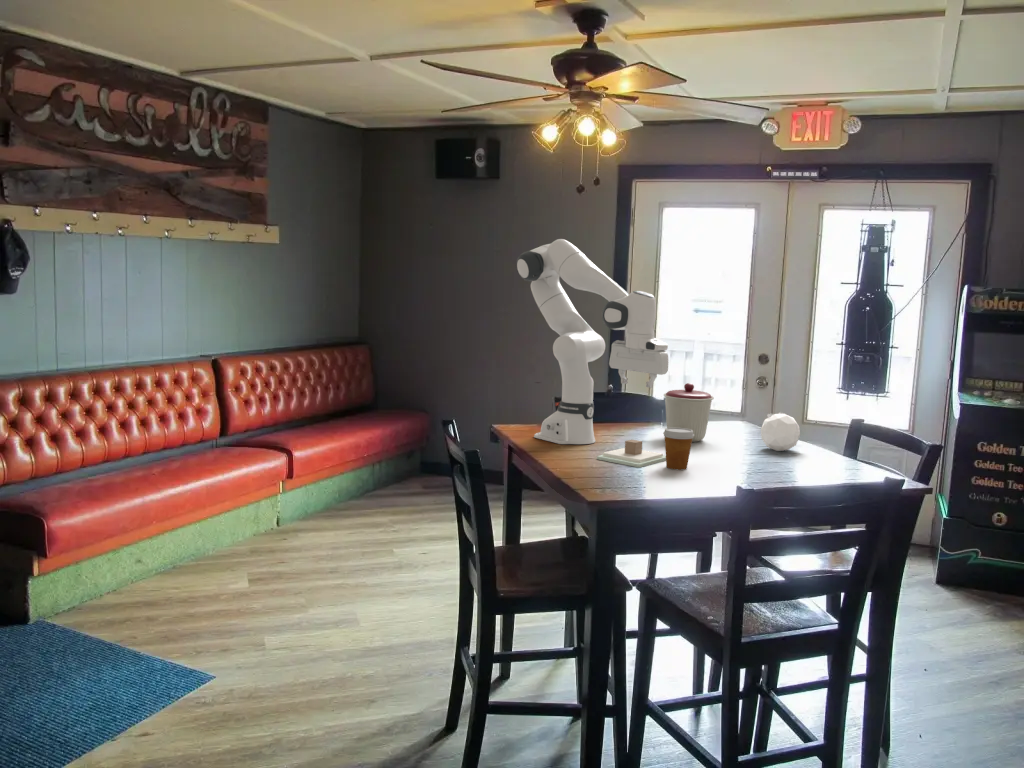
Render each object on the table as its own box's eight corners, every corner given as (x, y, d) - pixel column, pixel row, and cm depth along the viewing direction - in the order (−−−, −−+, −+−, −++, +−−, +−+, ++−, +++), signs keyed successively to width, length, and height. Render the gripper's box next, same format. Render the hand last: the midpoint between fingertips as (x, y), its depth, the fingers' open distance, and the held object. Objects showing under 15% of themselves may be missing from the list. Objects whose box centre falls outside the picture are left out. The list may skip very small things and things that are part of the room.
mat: (596, 459, 279) (597, 456, 279) (627, 451, 293) (627, 449, 293) (639, 467, 269) (639, 464, 269) (668, 459, 283) (668, 456, 282)
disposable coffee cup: (667, 471, 265) (670, 432, 264) (656, 464, 274) (658, 427, 273) (697, 471, 267) (699, 432, 266) (685, 464, 276) (687, 427, 275)
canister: (720, 443, 314) (724, 386, 311) (675, 445, 308) (679, 386, 306) (695, 434, 331) (698, 380, 328) (652, 435, 326) (655, 380, 323)
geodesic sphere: (755, 436, 299) (781, 406, 298) (745, 429, 313) (771, 400, 311) (786, 462, 300) (813, 432, 298) (775, 454, 313) (801, 425, 312)
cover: (602, 455, 280) (603, 440, 279) (626, 450, 291) (627, 435, 290) (640, 462, 271) (640, 447, 270) (662, 456, 282) (663, 441, 281)
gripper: (607, 339, 280) (604, 382, 282) (662, 346, 267) (658, 390, 269) (617, 339, 285) (614, 380, 287) (672, 345, 272) (669, 388, 274)
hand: (636, 385), depth 278 cm, fingers open, 8 cm apart
